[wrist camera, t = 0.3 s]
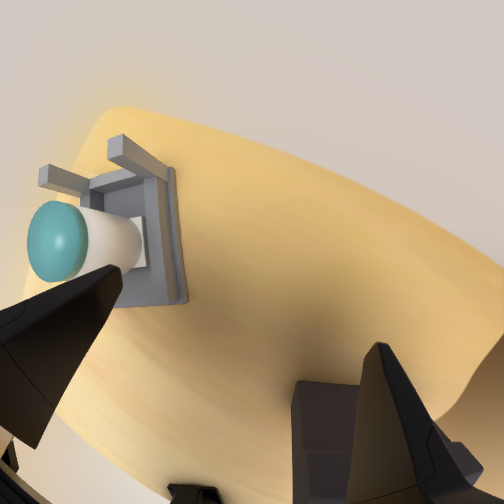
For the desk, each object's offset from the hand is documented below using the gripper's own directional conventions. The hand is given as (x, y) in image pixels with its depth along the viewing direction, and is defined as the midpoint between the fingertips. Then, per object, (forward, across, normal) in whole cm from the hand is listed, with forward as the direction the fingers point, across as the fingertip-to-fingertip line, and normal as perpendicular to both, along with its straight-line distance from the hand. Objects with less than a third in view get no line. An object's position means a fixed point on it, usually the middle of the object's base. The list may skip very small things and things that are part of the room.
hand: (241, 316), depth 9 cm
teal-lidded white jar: (+11, +12, +8) cm, 18 cm away
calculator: (+8, -11, +16) cm, 21 cm away
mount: (+12, +12, +9) cm, 19 cm away
